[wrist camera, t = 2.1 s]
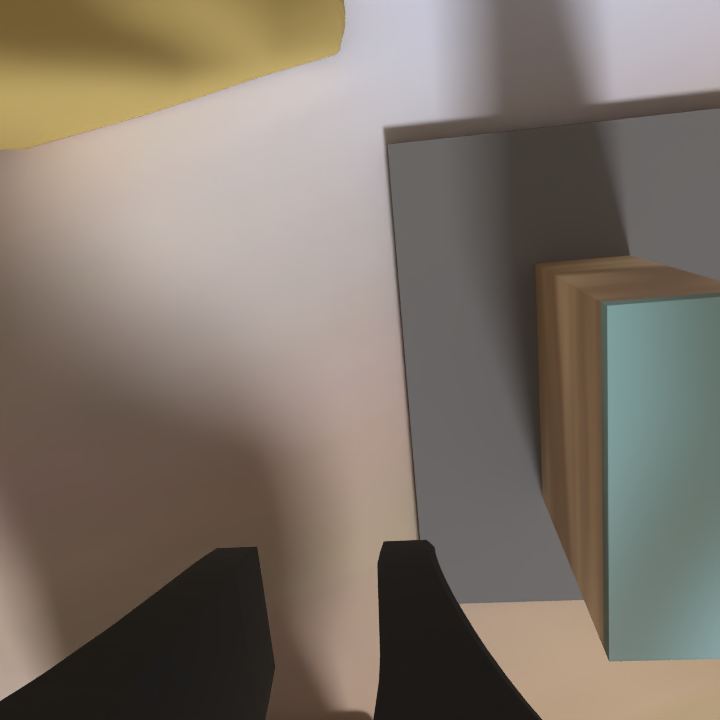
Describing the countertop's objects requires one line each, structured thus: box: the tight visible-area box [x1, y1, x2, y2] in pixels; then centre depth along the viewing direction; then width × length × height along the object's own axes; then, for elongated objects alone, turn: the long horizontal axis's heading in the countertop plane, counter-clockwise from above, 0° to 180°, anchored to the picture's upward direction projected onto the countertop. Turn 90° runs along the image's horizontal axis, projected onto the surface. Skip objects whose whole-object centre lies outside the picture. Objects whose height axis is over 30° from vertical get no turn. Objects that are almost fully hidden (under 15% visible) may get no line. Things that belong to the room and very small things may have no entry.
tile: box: [535, 255, 720, 661], centre depth 15 cm, size 2×7×7 cm, turn 6°
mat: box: [387, 108, 720, 604], centre depth 18 cm, size 16×14×1 cm
